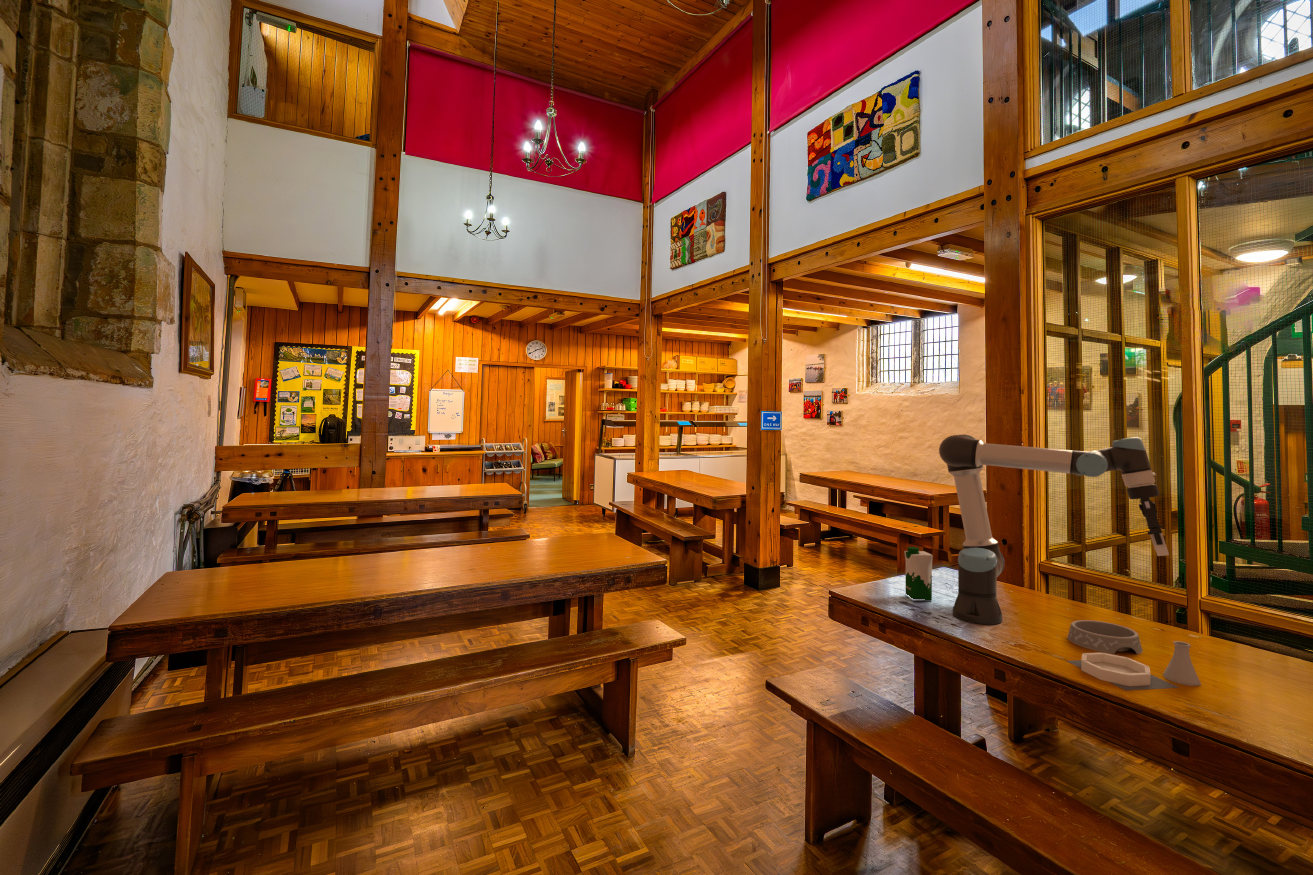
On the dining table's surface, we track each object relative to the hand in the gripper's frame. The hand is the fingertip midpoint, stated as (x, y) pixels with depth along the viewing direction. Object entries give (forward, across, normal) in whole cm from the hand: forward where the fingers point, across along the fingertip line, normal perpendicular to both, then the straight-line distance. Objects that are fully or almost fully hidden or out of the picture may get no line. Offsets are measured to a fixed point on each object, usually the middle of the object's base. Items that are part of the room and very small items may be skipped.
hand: (1162, 552), depth 173 cm
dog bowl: (+24, -15, +20) cm, 35 cm away
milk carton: (+10, 0, +75) cm, 76 cm away
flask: (+29, -34, +5) cm, 45 cm away
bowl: (+25, -40, +18) cm, 51 cm away
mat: (+26, -39, +17) cm, 50 cm away
